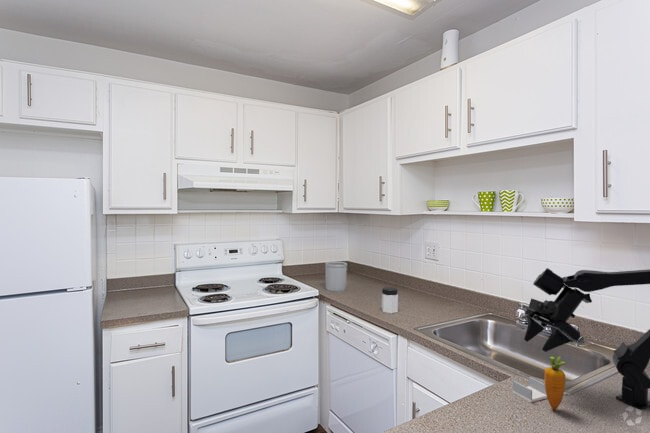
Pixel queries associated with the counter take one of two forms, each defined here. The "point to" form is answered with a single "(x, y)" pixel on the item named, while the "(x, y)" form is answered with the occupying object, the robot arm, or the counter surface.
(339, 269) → the utensil holder
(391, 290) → the jar
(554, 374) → the carrot
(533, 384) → the white railed tray
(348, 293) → the counter surface
